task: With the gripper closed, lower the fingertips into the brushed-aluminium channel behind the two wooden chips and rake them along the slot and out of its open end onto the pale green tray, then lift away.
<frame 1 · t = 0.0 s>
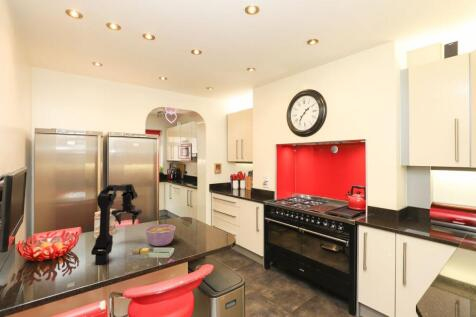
hand: (126, 224, 159), 15 cm above the table, fingers open, 9 cm apart
bowl of food: (160, 245, 161), on the table
oak chip: (136, 254, 142), point 1 cm above the table, touching slot board
mustard chip: (144, 254, 142), point 1 cm above the table, touching slot board
slot board: (140, 255, 142), on the table
tray: (161, 255, 142), on the table
coffeecake box: (105, 235, 179), on the table
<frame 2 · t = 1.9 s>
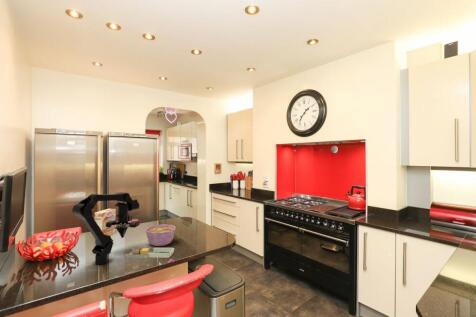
hand: (122, 237, 143), 11 cm above the table, fingers closed
nothing on the table moved.
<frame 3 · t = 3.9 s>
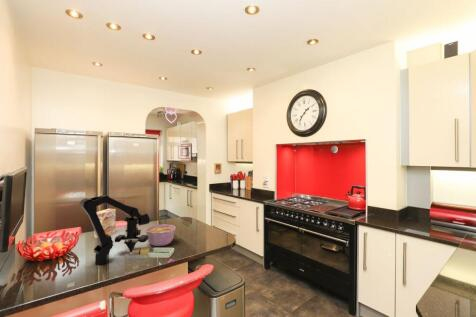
hand: (131, 252, 143), 2 cm above the table, fingers closed
oak chip: (136, 254, 142), point 1 cm above the table, touching gripper
everything else where it was.
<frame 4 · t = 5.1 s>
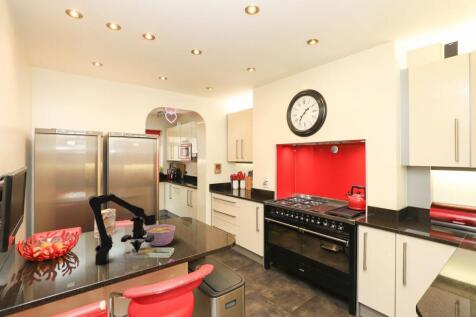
hand: (137, 252, 142), 2 cm above the table, fingers closed
oak chip: (142, 254, 142), point 1 cm above the table, touching gripper, mustard chip
mustard chip: (149, 254, 142), point 1 cm above the table, touching oak chip
everything else where it was.
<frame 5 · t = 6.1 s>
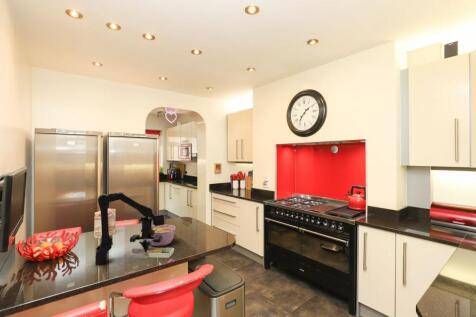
hand: (146, 252, 143), 2 cm above the table, fingers closed
oak chip: (151, 254, 142), point 1 cm above the table, touching gripper, slot board
mustard chip: (157, 254, 142), point 1 cm above the table
everything else where it was.
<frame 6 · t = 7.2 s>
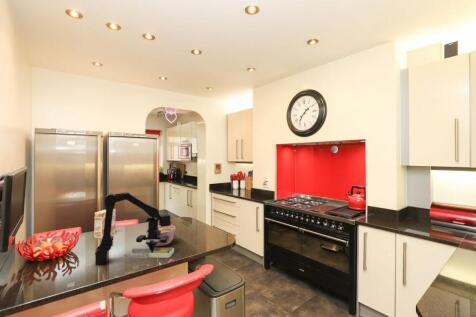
hand: (152, 252, 142), 2 cm above the table, fingers closed
oak chip: (157, 254, 142), point 1 cm above the table, touching gripper, mustard chip, tray
mustard chip: (164, 254, 142), point 1 cm above the table, touching oak chip, tray
everything else where it was.
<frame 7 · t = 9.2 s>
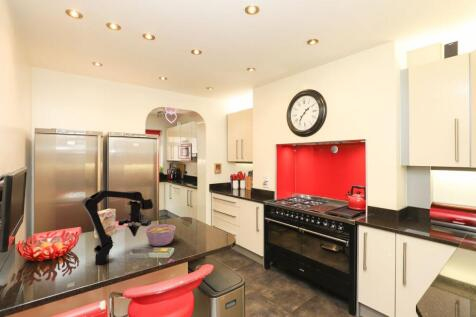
hand: (134, 236, 143), 12 cm above the table, fingers closed
oak chip: (157, 254, 142), point 1 cm above the table, touching mustard chip, tray
everything else where it was.
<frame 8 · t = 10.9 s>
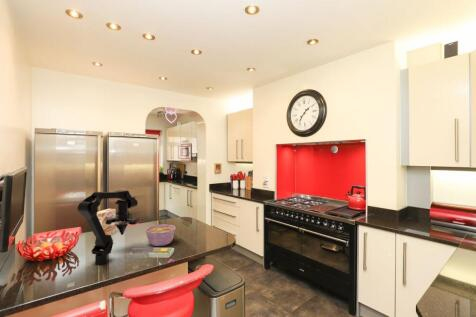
hand: (122, 234, 145), 12 cm above the table, fingers closed
nothing on the table moved.
at the end: oak chip inside the target area (3.4 cm from its centre), point 0.9 cm above the table; mustard chip inside the target area (0.5 cm from its centre), point 0.9 cm above the table; oak chip tilted 0° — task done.
